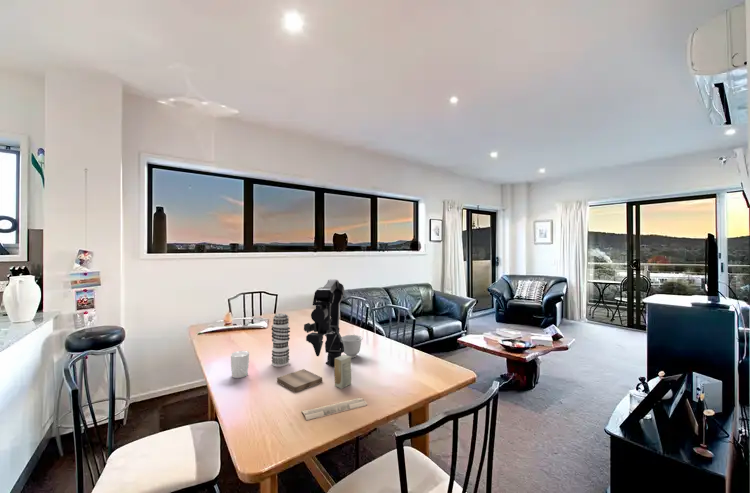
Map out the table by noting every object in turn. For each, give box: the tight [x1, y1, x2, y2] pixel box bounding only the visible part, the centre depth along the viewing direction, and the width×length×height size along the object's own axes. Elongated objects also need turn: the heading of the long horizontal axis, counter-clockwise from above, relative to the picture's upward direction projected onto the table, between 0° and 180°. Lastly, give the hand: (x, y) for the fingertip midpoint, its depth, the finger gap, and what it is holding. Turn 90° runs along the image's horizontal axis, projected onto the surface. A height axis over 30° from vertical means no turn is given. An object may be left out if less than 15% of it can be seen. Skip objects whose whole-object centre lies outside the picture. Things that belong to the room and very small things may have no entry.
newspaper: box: [301, 397, 368, 421], centre depth 119 cm, size 24×7×2 cm, turn 118°
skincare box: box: [334, 354, 352, 389], centre depth 140 cm, size 6×4×12 cm
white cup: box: [230, 350, 250, 379], centre depth 149 cm, size 8×8×10 cm
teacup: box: [341, 334, 363, 359], centre depth 178 cm, size 12×15×10 cm
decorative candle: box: [270, 313, 291, 367], centre depth 165 cm, size 9×9×25 cm
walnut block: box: [276, 368, 323, 393], centre depth 142 cm, size 14×14×2 cm
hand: (323, 352), depth 141 cm, fingers open, 9 cm apart
